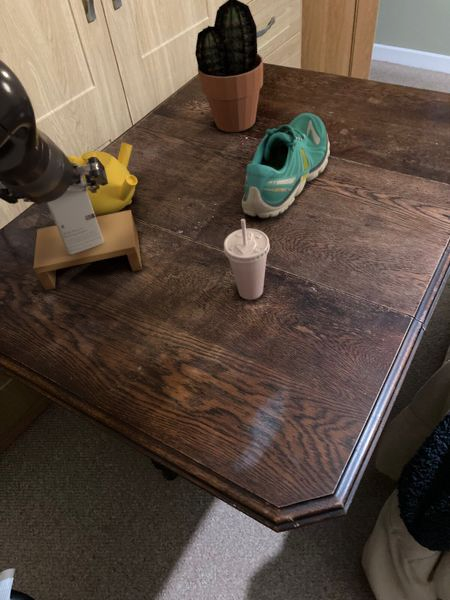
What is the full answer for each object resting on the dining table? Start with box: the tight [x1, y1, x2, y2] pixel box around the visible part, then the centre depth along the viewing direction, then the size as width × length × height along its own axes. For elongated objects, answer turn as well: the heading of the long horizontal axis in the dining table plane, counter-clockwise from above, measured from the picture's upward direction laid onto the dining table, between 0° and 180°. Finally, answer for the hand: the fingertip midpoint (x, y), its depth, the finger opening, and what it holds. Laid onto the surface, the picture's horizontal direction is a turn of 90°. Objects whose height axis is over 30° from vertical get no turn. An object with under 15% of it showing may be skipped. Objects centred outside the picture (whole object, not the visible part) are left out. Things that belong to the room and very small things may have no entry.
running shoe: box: [241, 112, 331, 219], centre depth 89 cm, size 11×29×11 cm, turn 155°
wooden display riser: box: [33, 209, 143, 291], centre depth 82 cm, size 16×10×5 cm, turn 102°
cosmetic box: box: [46, 183, 104, 255], centre depth 75 cm, size 6×4×12 cm
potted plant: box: [194, 0, 264, 133], centre depth 102 cm, size 14×14×25 cm
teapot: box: [67, 142, 138, 217], centre depth 90 cm, size 14×14×11 cm
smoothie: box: [223, 218, 271, 301], centre depth 70 cm, size 6×6×14 cm
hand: (66, 191), depth 74 cm, fingers open, 8 cm apart
